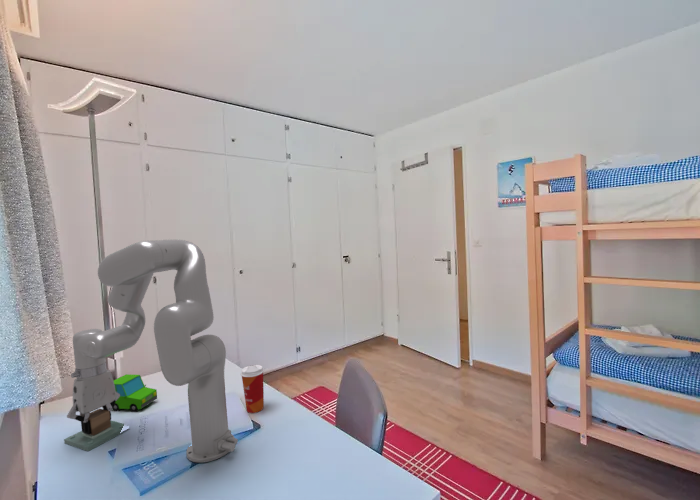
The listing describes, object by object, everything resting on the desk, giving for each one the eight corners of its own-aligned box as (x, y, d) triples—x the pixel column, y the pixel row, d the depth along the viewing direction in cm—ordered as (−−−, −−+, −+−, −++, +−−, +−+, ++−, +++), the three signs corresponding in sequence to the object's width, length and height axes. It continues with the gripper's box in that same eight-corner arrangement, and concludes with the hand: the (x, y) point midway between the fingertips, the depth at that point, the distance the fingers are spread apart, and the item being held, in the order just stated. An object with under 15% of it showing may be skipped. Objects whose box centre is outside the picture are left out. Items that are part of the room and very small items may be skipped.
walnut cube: (110, 426, 108) (109, 410, 108) (93, 435, 104) (91, 419, 104) (101, 423, 111) (99, 408, 110) (83, 432, 106) (82, 416, 106)
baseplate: (129, 428, 110) (129, 423, 110) (88, 451, 99) (87, 445, 99) (106, 422, 115) (105, 417, 115) (64, 443, 104) (63, 437, 104)
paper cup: (243, 406, 121) (240, 366, 120) (265, 401, 123) (262, 362, 122) (243, 417, 113) (240, 374, 113) (267, 411, 116) (264, 370, 115)
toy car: (139, 414, 120) (136, 385, 119) (107, 412, 122) (104, 385, 122) (160, 400, 130) (158, 373, 129) (130, 399, 132) (128, 373, 132)
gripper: (66, 383, 97) (73, 447, 98) (127, 361, 113) (132, 416, 113) (51, 380, 100) (58, 441, 101) (112, 359, 116) (117, 413, 116)
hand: (97, 427), depth 107 cm, fingers closed on walnut cube, 4 cm apart
